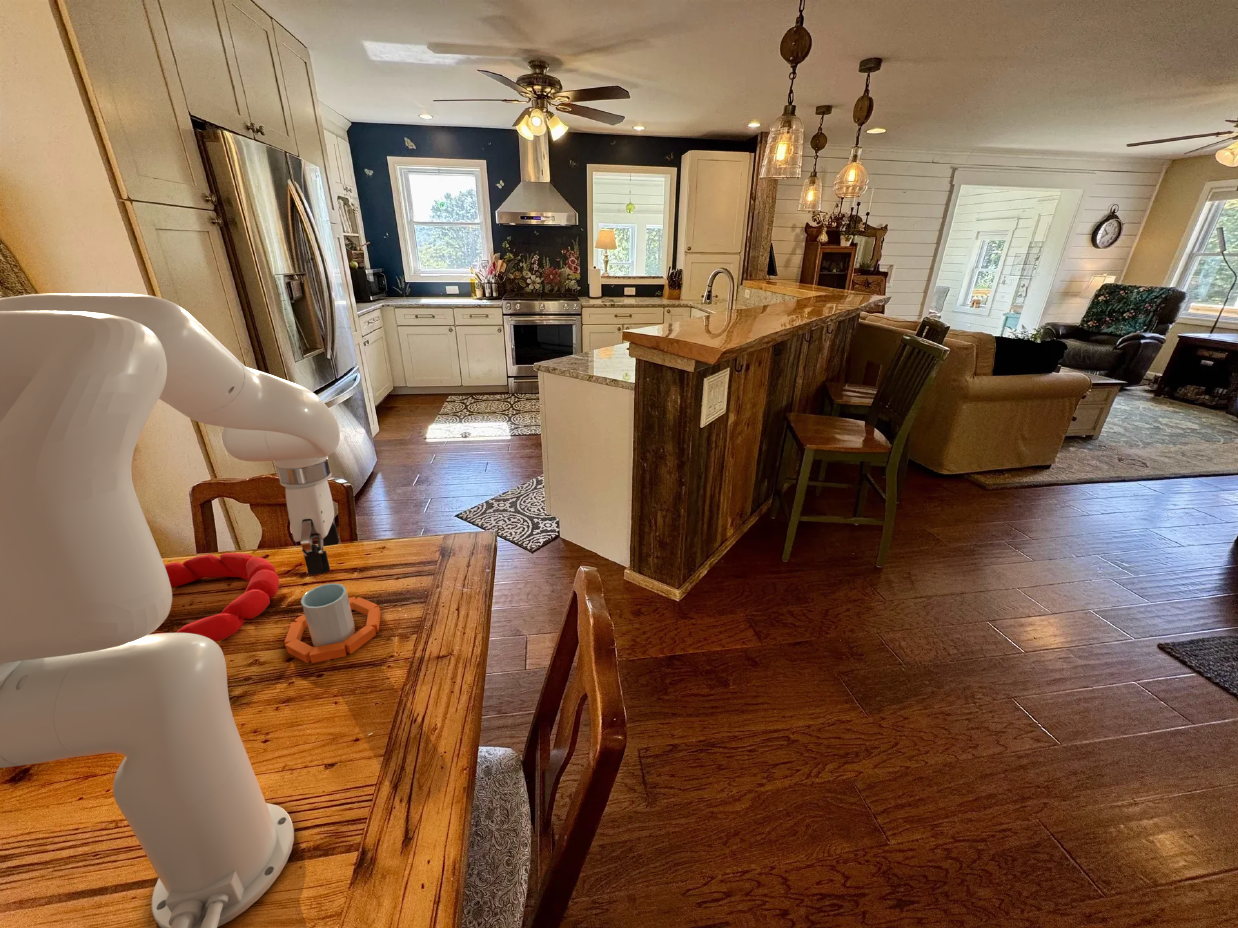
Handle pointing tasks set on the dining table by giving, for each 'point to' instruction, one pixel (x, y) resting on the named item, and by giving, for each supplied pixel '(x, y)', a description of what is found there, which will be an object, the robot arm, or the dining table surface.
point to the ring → (336, 649)
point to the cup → (328, 614)
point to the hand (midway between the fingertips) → (325, 558)
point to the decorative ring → (244, 606)
